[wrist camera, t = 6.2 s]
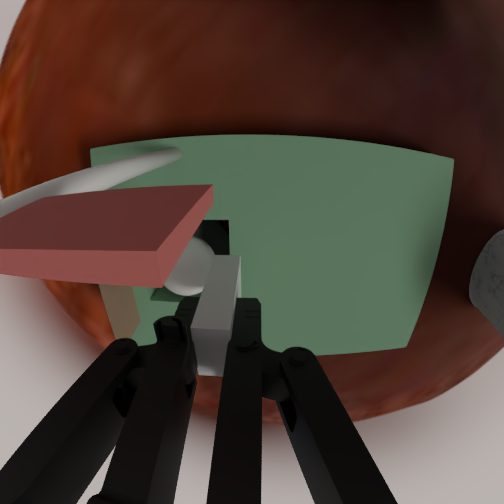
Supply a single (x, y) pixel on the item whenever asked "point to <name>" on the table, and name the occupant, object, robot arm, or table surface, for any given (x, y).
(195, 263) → the ball
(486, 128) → the table surface
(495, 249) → the grey can
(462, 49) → the table surface
